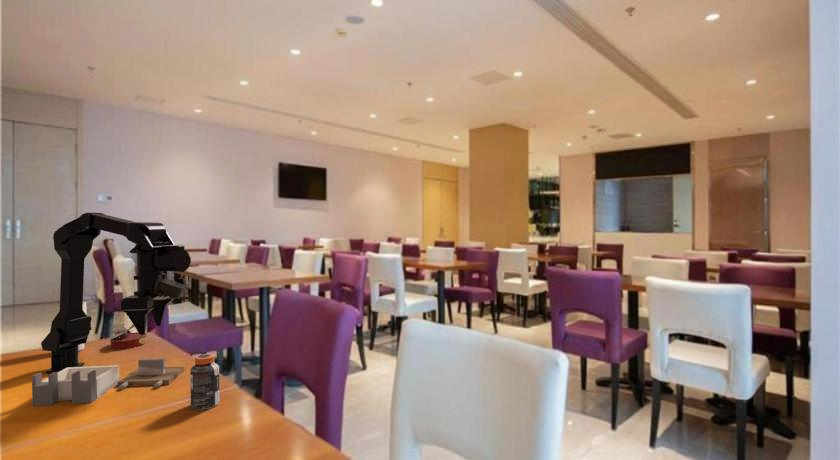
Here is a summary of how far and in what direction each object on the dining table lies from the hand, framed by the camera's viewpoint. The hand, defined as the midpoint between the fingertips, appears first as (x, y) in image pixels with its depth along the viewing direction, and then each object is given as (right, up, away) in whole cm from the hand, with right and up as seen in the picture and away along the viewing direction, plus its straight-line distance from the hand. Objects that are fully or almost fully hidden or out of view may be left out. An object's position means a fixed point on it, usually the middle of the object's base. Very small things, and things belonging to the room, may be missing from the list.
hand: (150, 330), depth 115 cm
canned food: (-26, -12, +30) cm, 41 cm away
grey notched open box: (-12, -13, -9) cm, 20 cm away
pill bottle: (+22, -14, -15) cm, 30 cm away
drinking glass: (-39, -12, +24) cm, 47 cm away
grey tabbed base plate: (0, -13, -1) cm, 13 cm away
